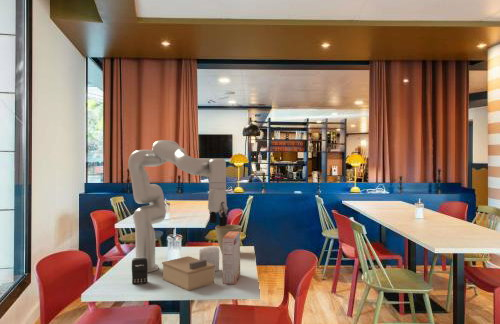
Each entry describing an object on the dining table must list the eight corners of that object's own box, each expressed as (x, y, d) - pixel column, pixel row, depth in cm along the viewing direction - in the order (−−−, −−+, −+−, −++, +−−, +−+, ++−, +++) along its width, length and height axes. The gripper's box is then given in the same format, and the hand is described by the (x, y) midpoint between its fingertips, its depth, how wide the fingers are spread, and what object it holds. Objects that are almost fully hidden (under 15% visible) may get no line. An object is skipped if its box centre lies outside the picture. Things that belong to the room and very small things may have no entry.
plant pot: (240, 250, 222) (240, 224, 221) (241, 257, 207) (241, 229, 207) (215, 251, 221) (215, 224, 220) (215, 257, 206) (215, 229, 206)
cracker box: (228, 274, 177) (228, 230, 177) (240, 274, 176) (240, 231, 176) (221, 284, 163) (221, 237, 163) (234, 284, 162) (234, 237, 162)
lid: (162, 263, 169) (162, 256, 169) (188, 257, 179) (188, 251, 179) (188, 274, 154) (188, 266, 154) (215, 266, 164) (215, 259, 164)
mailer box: (163, 279, 169) (163, 264, 169) (188, 273, 179) (188, 258, 178) (188, 291, 154) (188, 274, 154) (214, 283, 164) (214, 267, 164)
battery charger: (131, 285, 161) (131, 259, 161) (132, 282, 165) (131, 257, 165) (147, 284, 163) (147, 258, 163) (148, 281, 167) (148, 256, 166)
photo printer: (216, 268, 186) (216, 244, 186) (220, 270, 182) (220, 245, 182) (197, 272, 180) (197, 246, 180) (201, 274, 177) (201, 248, 177)
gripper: (202, 185, 170) (202, 222, 170) (218, 187, 155) (219, 228, 155) (216, 184, 174) (217, 220, 174) (234, 187, 159) (234, 226, 159)
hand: (217, 224), depth 165 cm, fingers open, 9 cm apart
